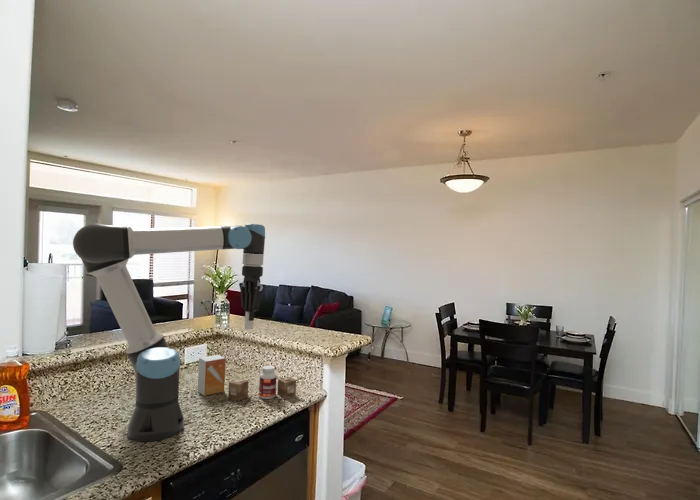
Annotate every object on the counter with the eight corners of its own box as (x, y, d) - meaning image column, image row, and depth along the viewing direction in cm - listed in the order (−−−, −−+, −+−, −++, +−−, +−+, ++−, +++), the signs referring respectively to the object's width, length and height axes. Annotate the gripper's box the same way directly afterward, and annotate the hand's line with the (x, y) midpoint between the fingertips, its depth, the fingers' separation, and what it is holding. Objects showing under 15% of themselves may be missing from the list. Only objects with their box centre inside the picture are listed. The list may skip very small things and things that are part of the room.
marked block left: (238, 401, 143) (239, 384, 143) (227, 398, 145) (228, 381, 145) (248, 396, 147) (248, 379, 147) (237, 394, 149) (238, 377, 149)
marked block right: (284, 398, 146) (285, 382, 146) (277, 394, 150) (278, 378, 150) (296, 396, 149) (296, 379, 149) (288, 392, 153) (289, 376, 153)
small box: (204, 396, 146) (205, 361, 146) (197, 391, 150) (198, 357, 150) (224, 391, 151) (226, 357, 151) (217, 387, 156) (218, 354, 156)
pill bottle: (262, 400, 143) (263, 370, 143) (256, 395, 149) (257, 366, 149) (278, 397, 147) (279, 368, 147) (272, 392, 152) (273, 364, 152)
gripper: (271, 266, 145) (267, 330, 145) (251, 264, 153) (247, 325, 153) (254, 266, 139) (250, 333, 139) (234, 264, 148) (230, 327, 147)
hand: (248, 328), depth 146 cm, fingers closed
